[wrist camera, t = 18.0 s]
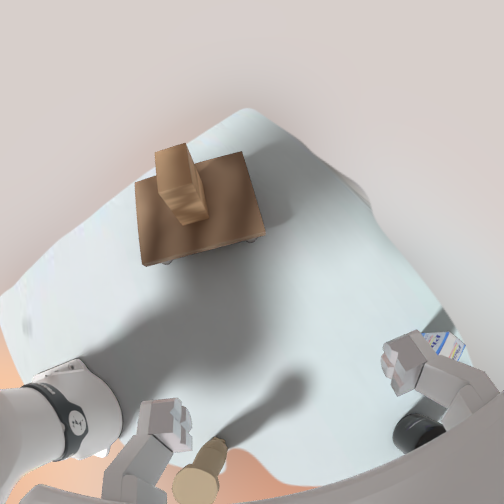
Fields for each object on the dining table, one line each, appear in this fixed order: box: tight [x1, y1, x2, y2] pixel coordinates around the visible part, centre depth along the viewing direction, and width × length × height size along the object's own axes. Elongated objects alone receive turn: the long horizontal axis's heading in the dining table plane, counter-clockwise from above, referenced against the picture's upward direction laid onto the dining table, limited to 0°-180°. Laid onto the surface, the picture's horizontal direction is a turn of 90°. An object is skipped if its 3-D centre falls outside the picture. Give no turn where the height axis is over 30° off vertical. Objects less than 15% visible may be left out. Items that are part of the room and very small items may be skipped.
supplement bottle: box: [393, 413, 447, 454], centre depth 28 cm, size 7×7×12 cm
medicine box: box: [421, 331, 466, 361], centre depth 33 cm, size 8×4×9 cm, turn 142°
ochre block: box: [155, 143, 209, 226], centre depth 36 cm, size 4×6×10 cm, turn 14°
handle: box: [172, 437, 228, 504], centre depth 28 cm, size 5×6×15 cm
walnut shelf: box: [135, 151, 266, 267], centre depth 43 cm, size 18×14×6 cm
